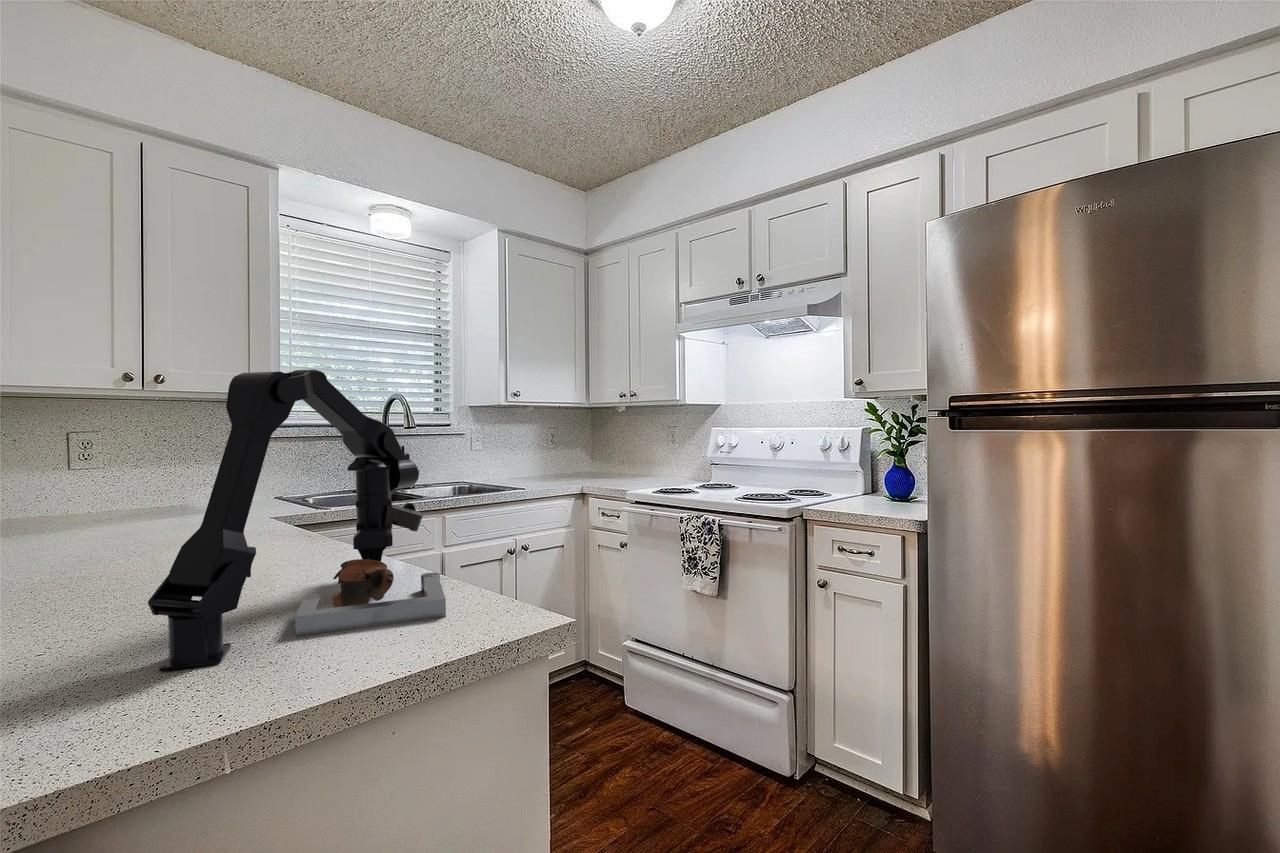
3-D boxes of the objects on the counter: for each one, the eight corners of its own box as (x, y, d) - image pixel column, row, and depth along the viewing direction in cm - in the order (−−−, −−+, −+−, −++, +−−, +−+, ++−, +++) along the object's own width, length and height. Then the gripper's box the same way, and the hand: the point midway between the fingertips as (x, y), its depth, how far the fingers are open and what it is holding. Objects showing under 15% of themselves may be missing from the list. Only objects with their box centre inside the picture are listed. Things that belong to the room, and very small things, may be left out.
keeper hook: (448, 616, 97) (448, 598, 97) (295, 636, 89) (295, 616, 89) (439, 586, 113) (438, 571, 113) (309, 601, 105) (309, 585, 105)
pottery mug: (314, 611, 101) (323, 562, 105) (359, 621, 109) (366, 575, 113) (370, 599, 97) (378, 549, 101) (413, 610, 105) (418, 563, 109)
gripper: (422, 497, 109) (423, 585, 109) (417, 486, 126) (418, 562, 126) (352, 501, 105) (354, 593, 105) (356, 489, 122) (358, 568, 122)
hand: (374, 577), depth 115 cm, fingers closed
